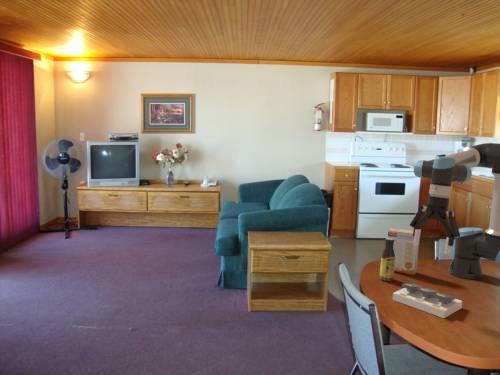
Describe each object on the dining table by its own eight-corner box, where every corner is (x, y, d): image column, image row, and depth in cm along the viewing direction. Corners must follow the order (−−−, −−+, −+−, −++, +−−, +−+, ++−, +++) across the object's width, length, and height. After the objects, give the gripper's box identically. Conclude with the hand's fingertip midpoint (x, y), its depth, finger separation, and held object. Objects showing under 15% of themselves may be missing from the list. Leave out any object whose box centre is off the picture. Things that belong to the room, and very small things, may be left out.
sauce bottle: (386, 282, 202) (388, 241, 199) (376, 278, 208) (379, 237, 205) (396, 280, 205) (399, 239, 202) (386, 276, 211) (389, 236, 208)
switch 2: (443, 296, 178) (444, 293, 178) (454, 300, 175) (455, 296, 175) (433, 297, 172) (434, 293, 172) (444, 301, 169) (445, 297, 169)
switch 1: (411, 286, 189) (412, 283, 189) (421, 289, 185) (422, 286, 185) (401, 286, 183) (402, 283, 183) (411, 290, 179) (411, 286, 179)
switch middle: (427, 291, 183) (428, 288, 183) (437, 294, 180) (438, 291, 180) (416, 292, 177) (417, 288, 177) (427, 295, 174) (427, 291, 174)
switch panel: (411, 291, 193) (412, 282, 192) (461, 308, 176) (462, 298, 175) (392, 299, 183) (393, 290, 182) (443, 318, 166) (444, 308, 166)
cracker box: (416, 272, 217) (420, 231, 214) (414, 275, 212) (417, 234, 209) (388, 266, 224) (391, 227, 221) (385, 270, 219) (387, 229, 216)
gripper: (405, 191, 178) (398, 242, 180) (464, 201, 158) (455, 258, 160) (416, 191, 183) (409, 241, 185) (475, 201, 162) (466, 257, 164)
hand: (430, 249), depth 172 cm, fingers open, 13 cm apart
